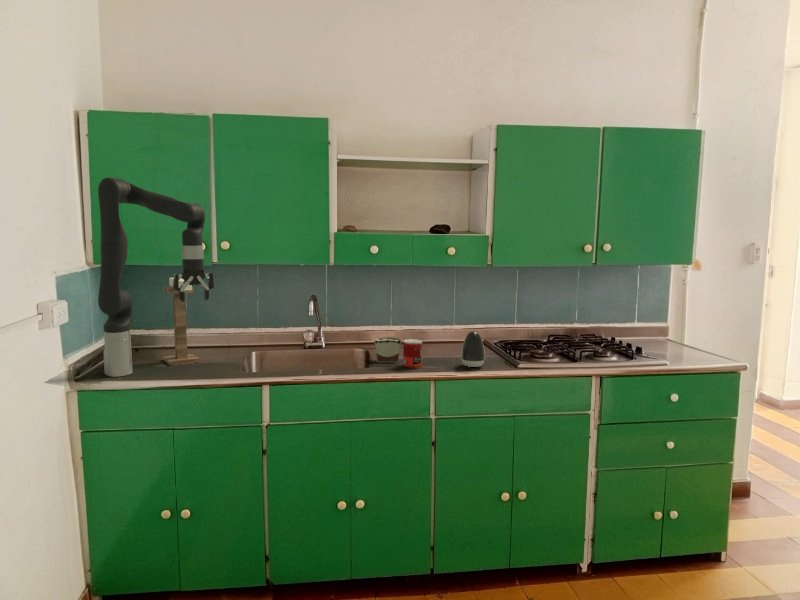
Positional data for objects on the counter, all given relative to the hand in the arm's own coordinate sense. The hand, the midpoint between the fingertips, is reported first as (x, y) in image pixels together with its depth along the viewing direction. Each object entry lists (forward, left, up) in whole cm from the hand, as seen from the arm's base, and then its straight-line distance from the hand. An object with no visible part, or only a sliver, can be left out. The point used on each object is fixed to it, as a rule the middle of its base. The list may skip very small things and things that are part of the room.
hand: (194, 300), depth 214 cm
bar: (-24, +17, +2) cm, 30 cm away
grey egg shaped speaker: (+89, +66, -30) cm, 115 cm away
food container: (+52, +60, -30) cm, 85 cm away
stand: (-27, +19, -30) cm, 44 cm away
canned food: (+66, +55, -30) cm, 91 cm away
